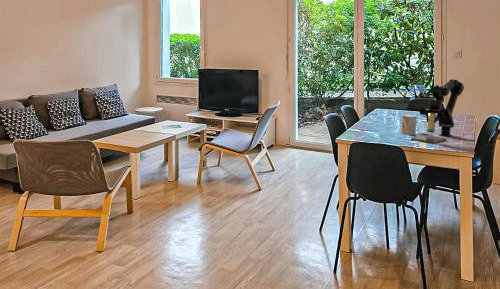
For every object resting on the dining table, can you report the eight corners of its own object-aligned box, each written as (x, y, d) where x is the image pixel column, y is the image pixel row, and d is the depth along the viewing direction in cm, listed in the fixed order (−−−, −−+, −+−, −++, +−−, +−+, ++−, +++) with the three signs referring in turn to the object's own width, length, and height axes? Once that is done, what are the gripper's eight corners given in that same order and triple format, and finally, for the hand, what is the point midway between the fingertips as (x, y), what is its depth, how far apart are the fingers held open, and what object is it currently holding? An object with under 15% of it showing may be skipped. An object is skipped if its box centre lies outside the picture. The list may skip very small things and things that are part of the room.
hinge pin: (430, 130, 295) (432, 112, 292) (436, 132, 291) (437, 113, 288) (425, 131, 293) (427, 113, 290) (430, 132, 289) (432, 114, 286)
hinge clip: (421, 137, 303) (422, 132, 302) (432, 139, 297) (432, 134, 296) (415, 138, 298) (415, 134, 297) (426, 140, 292) (426, 136, 291)
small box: (401, 133, 324) (402, 115, 321) (409, 132, 325) (410, 114, 322) (407, 135, 316) (408, 116, 313) (415, 134, 317) (416, 116, 315)
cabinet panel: (424, 136, 310) (424, 135, 310) (446, 140, 298) (446, 138, 298) (410, 139, 301) (411, 138, 300) (433, 143, 288) (433, 141, 288)
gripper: (420, 94, 295) (413, 113, 290) (450, 96, 284) (444, 115, 278) (423, 104, 303) (417, 123, 297) (453, 106, 292) (446, 126, 286)
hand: (430, 122), depth 289 cm, fingers closed on hinge pin, 4 cm apart
